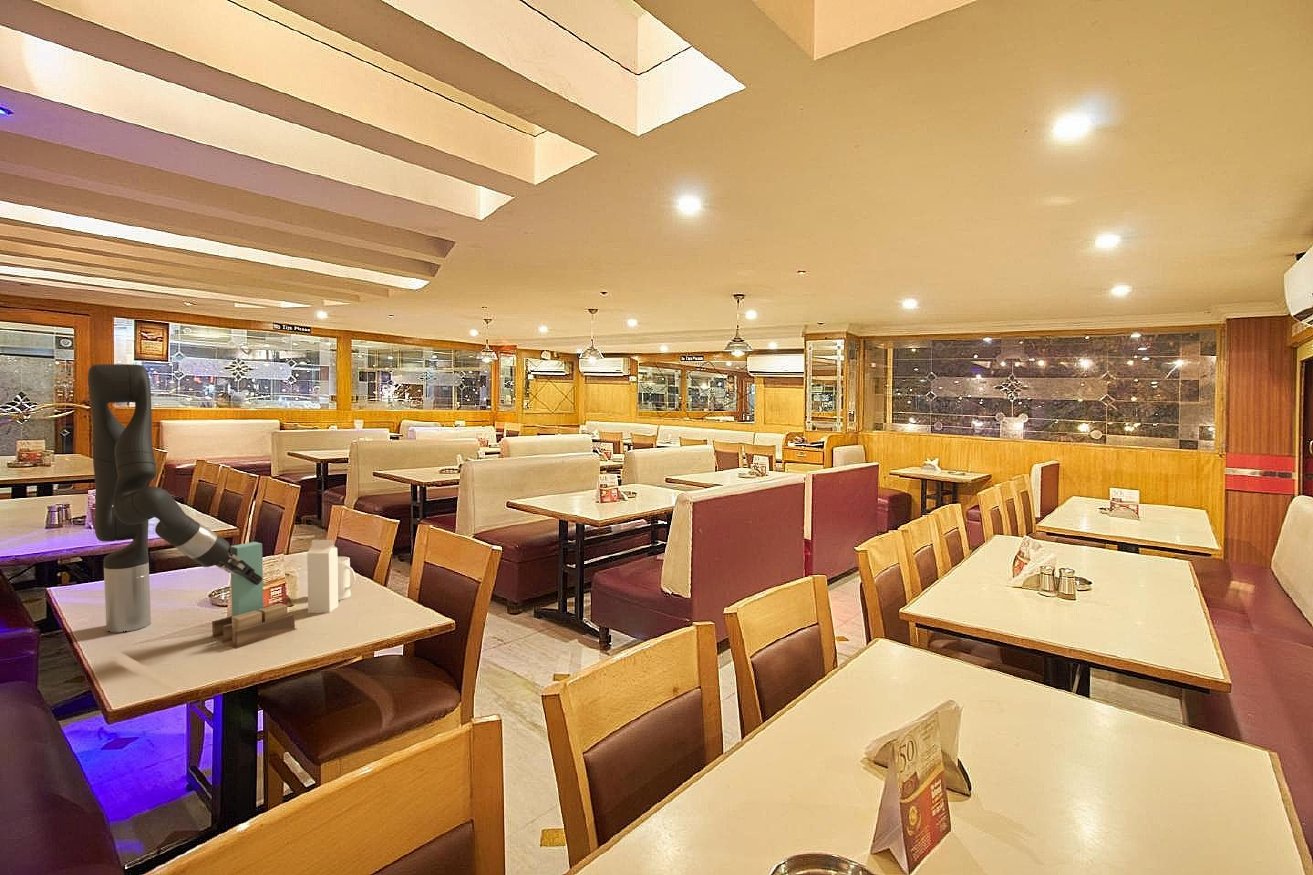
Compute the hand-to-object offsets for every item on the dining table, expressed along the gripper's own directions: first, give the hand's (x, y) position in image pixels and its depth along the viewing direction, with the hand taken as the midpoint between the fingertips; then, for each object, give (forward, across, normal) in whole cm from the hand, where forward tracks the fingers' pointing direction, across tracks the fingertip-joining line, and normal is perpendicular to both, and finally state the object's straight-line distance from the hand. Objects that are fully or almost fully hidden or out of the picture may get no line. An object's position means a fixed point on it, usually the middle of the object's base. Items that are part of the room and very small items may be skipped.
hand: (255, 580), depth 163 cm
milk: (+23, -1, -2) cm, 23 cm away
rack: (+9, -4, +12) cm, 15 cm away
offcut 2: (+10, -6, +8) cm, 14 cm away
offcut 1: (+6, -6, +13) cm, 15 cm away
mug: (+31, +8, -10) cm, 34 cm away
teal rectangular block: (+7, 0, +10) cm, 12 cm away
